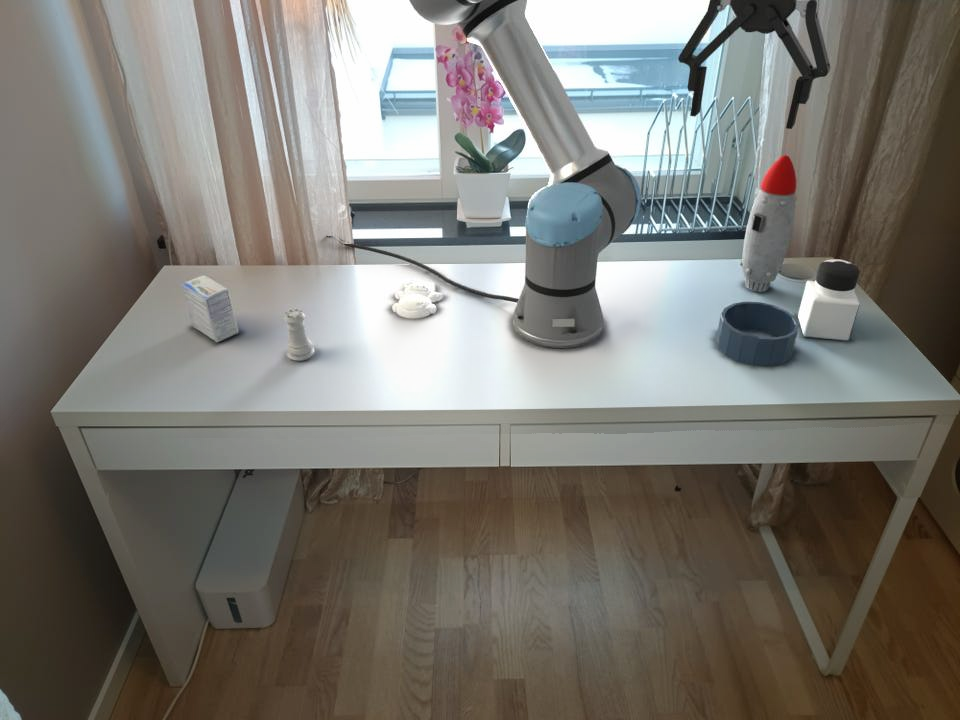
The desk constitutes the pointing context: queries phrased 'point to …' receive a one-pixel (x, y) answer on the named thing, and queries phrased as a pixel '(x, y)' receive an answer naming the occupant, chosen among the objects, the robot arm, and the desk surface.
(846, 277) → the medicine bottle
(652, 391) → the desk surface
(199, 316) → the medicine box
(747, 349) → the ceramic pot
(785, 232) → the toy rocket
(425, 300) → the astronaut figurine
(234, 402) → the desk surface
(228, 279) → the desk surface
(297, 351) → the rook chess piece
